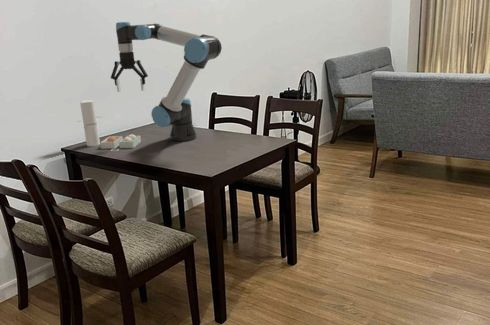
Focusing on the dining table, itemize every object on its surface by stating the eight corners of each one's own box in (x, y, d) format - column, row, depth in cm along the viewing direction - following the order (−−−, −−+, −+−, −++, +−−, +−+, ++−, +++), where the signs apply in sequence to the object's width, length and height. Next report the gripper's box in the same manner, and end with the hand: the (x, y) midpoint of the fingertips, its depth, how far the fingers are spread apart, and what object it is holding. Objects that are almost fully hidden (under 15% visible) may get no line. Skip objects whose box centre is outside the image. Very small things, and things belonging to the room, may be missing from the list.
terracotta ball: (118, 143, 272) (117, 135, 271) (115, 146, 268) (113, 137, 266) (109, 144, 273) (108, 135, 271) (106, 146, 268) (105, 137, 267)
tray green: (141, 142, 275) (140, 135, 274) (133, 148, 263) (132, 141, 261) (128, 142, 276) (127, 136, 275) (119, 149, 263) (118, 142, 262)
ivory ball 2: (138, 141, 274) (137, 133, 273) (135, 144, 270) (134, 135, 268) (129, 142, 275) (128, 133, 273) (126, 144, 270) (125, 135, 269)
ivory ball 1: (134, 143, 268) (131, 135, 267) (131, 145, 264) (128, 137, 262) (126, 145, 269) (123, 137, 268) (123, 148, 265) (120, 139, 263)
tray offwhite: (123, 143, 276) (122, 136, 275) (114, 149, 264) (113, 142, 263) (110, 143, 277) (109, 136, 276) (101, 149, 265) (100, 142, 263)
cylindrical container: (96, 147, 270) (89, 102, 263) (84, 147, 272) (77, 102, 265) (102, 143, 277) (96, 100, 270) (90, 143, 278) (84, 100, 271)
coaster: (119, 150, 262) (119, 148, 261) (117, 152, 258) (116, 150, 258) (112, 150, 262) (112, 148, 262) (110, 152, 258) (110, 150, 258)
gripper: (150, 50, 266) (154, 89, 272) (106, 52, 269) (111, 90, 275) (146, 51, 259) (151, 91, 265) (101, 53, 262) (106, 92, 268)
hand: (131, 91), depth 270 cm, fingers open, 13 cm apart
